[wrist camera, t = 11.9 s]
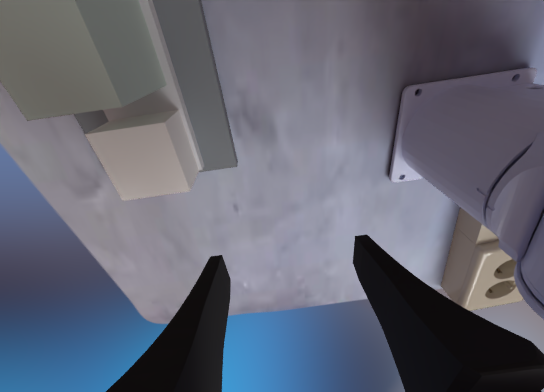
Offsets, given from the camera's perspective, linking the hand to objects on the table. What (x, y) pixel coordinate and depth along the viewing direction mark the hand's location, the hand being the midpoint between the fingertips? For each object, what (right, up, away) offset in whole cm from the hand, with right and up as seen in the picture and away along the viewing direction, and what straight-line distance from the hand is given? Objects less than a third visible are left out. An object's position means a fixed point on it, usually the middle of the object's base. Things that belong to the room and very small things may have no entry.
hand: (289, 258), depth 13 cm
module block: (-10, +12, +1) cm, 16 cm away
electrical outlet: (+23, 0, +14) cm, 26 cm away
